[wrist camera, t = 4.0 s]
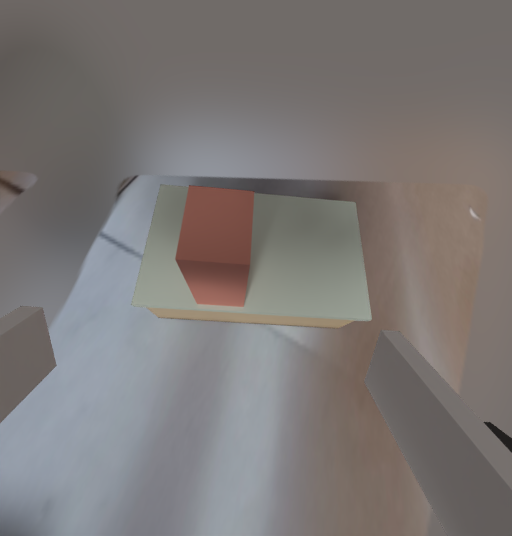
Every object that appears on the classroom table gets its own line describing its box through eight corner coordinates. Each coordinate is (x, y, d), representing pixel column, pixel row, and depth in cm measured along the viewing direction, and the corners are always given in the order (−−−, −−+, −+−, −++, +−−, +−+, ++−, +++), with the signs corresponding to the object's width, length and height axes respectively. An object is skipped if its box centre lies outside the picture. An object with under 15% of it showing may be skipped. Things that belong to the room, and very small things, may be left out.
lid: (134, 306, 22) (67, 258, 13) (162, 189, 27) (127, 96, 18) (367, 321, 23) (452, 286, 14) (352, 206, 28) (407, 127, 19)
